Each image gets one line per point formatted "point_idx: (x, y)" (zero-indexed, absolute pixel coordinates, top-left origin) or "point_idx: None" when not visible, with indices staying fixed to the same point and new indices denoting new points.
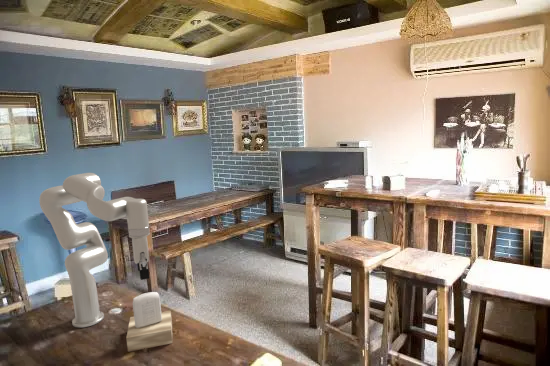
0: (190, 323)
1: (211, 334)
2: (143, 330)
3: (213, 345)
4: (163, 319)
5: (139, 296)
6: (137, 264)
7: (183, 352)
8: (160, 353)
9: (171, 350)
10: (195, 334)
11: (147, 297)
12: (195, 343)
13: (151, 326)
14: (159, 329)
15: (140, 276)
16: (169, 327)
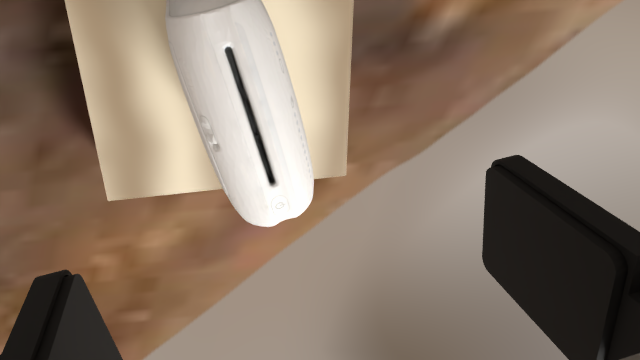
0: (284, 229)
1: (157, 317)
2: (135, 35)
3: None
4: None
5: (219, 78)
6: (579, 216)
7: (14, 222)
8: (19, 115)
9: (43, 166)
10: (175, 257)
11: (213, 147)
12: (91, 264)
13: (178, 83)
14: (125, 136)
15: (17, 323)
16: (137, 189)
